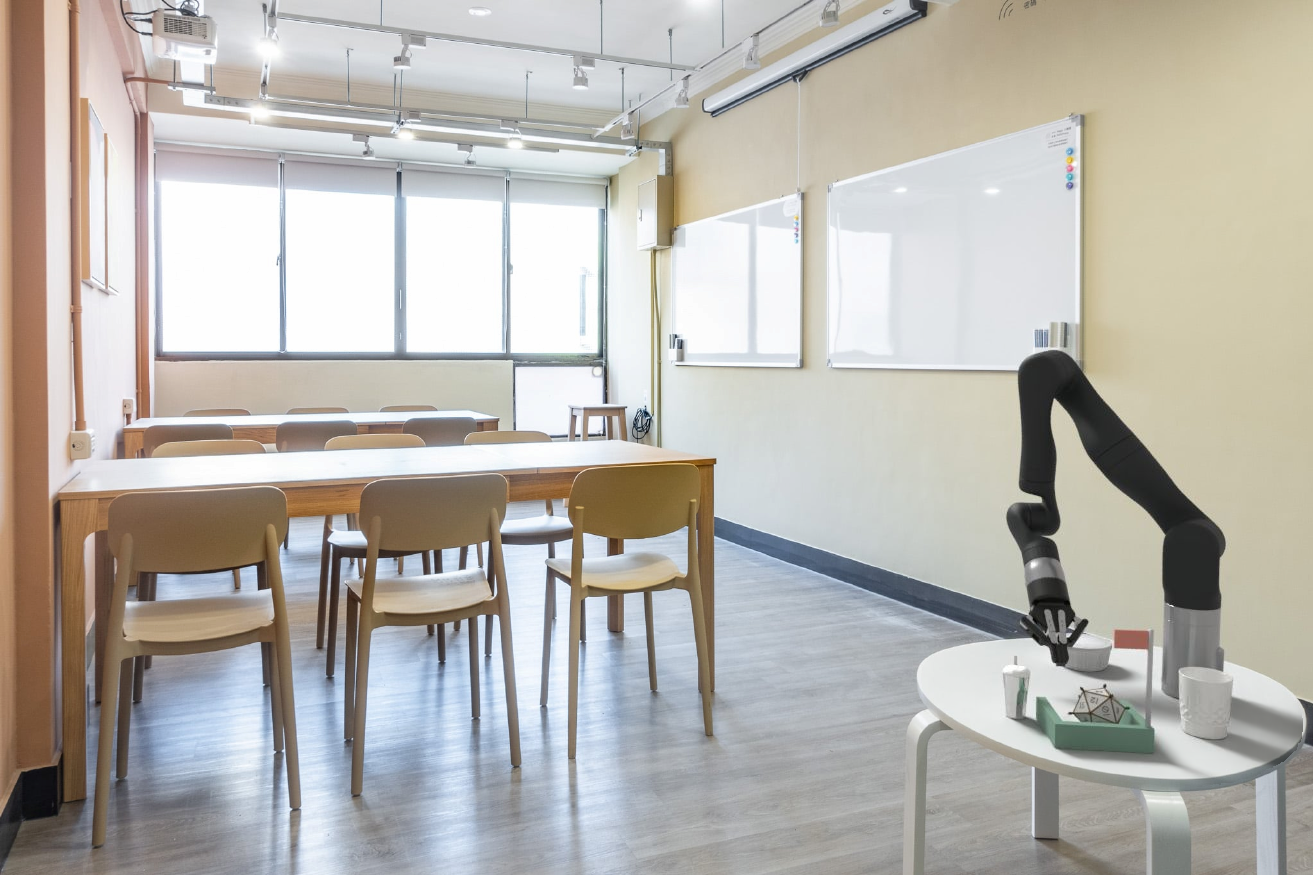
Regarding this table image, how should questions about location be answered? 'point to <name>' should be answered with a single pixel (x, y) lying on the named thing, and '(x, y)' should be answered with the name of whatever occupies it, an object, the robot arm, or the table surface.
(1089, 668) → the ramekin
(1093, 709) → the game die
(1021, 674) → the milkshake
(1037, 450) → the robot arm
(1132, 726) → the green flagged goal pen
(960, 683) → the table surface
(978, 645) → the table surface
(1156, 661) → the table surface
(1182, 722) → the white cup
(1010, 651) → the table surface
